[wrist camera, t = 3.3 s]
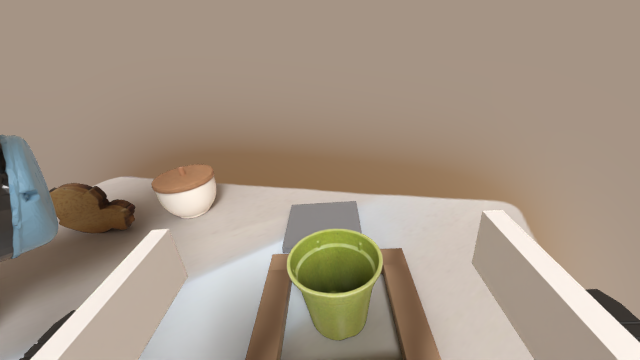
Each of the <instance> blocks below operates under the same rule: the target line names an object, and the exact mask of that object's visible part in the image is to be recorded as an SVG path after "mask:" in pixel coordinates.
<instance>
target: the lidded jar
mask: <svg viewBox="0 0 640 360" xmlns="http://www.w3.org/2000/svg"><path fill="white" fill-rule="evenodd" d="M152 188H153V190H154V191H155V193H156V195H157V197H158V200H159V201H160V203H161V204H162V206H163V207H164V208H165V209H166V210H167V211H168V212H170V213H172V214H174V215H176V216H179V217H180V218H183V219H190V218H195V217H198V216H201V215H203V214H205V213H206V212H207V211H208V210H209V209H210V207H211V205H212V203H213V202H214V200H215V197H216V182H215V178H214V172H213V169H212V167H210V166H208V165H203V164H195V165H187V166H181V167H178V168H175V169H172V170H169V171H167V172H165V173H163V174H161V175H159V176H158V177H156V178H155V179H154V180H153V182H152Z"/></svg>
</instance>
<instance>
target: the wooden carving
mask: <svg viewBox="0 0 640 360" xmlns="http://www.w3.org/2000/svg"><path fill="white" fill-rule="evenodd" d="M49 193H50V196H51V199H52V202H53V205H54V208H55V212H56V216H57V217H58V218H59V220H60V222H59V224H60V225H62V226H64V227H67V228H71V229H74V230H77V231H81V232H87V233H102V232H105V231H108V230H109V229H111V228H115V229H120V230H124V229H128V228H129V226H130V225H131V223H132V222H133V221H135V218H134V215H133V213H134V209H135V206H134V205H133V204H131V203H130V202H128V201H125V200H118V199H117V200H113V201H112V202H109V201H108V199H107V198H106V197H107V195H106V194H105V193H104V192H103V191H102V190H101V189H100V188H99V187H97V186H94V187H91V186H88V185H84V184H77V183H71V184H65V185H62V186H60V187H59V188H53V189H51V190H50V191H49Z"/></svg>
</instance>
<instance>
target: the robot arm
mask: <svg viewBox="0 0 640 360" xmlns="http://www.w3.org/2000/svg"><path fill="white" fill-rule="evenodd" d="M57 231H58V220H57V216H56V212H55V208H54V205H53V202H52V199H51V196H50V193H49V190H48V187H47V185H46V182H45V179H44V177H43V175H42V172H41V170H40V167H39V165H38V163H37V161H36V158H35V156H34V154H33V152H32V150H31V149H30V147H29V145H28V144H27V142H26V141H25V140H24V139H22V138H21V137H18V136H15V135H13V136H5V135H0V262H2V261H5V260H7V259H10V258H11V259H13V258H17V257H18V256H19V255H20V254H22V253H24V252H27V251H29V250H32V249H34V248H37V247H39V246H42V245H44V244H47V243H48V242H50V241H51V240H52V239H53V238H54V237H55V236H56V234H57ZM472 264H473V266H474V267H475V269H476V270H477V272H478V273H479V275H480V276H481V278H482V279H483V281H484V283H485V284H486V286H487V287H488V289H489V290H490V292H491V293H492V295H493V296H494V298H495V300H496V301H497V303H498V304H499V306H500V307H501V309H502V310H503V312H504V313H505V315H506V316H507V318H508V320H509V321H510V323H511V324H512V326H513V327H514V329H515V330H516V332H517V333H518V335H519V336H520V338H521V340H522V341H523V343H524V344H525V346H526V347H527V349H528V350H529V352H530V353H531V355H532V357H533V358H534V360H640V320H639V319H638V318H636V317H635V316H634V315H633V314H632V313H631V312H630V311H629V310H628V309H626V308H625V307H624V306H623V305H622V304H621V303H619V302H617V301H616V300H614V299H613V298H611V297H609V296H608V295H606V294H604V293H603V292H601V291H599V290H598V289H590V290H585V289H584V288H583V287H582V286H580V284H579V283H577V282H576V281H575V280H574V279H573V278H572V277H571V276H570V275H569V274H568V273H567V272H566V271H565V270H564V269H563V268H562V267H561V266H560V265H559V264H558V263H557V262H556V261H555V260H554V259H553V258H552V257H551V256H549V255H548V254H547V253H546V252H545V251H544V250H543V249H542V248H541V247H540V246H539V245H538V244H537V243H536V242H535V241H534V240H533V239H532V238H531V237H530V236H529V235H528V234H527V233H526V232H525V231H524V230H523V229H522V228H520V227H519V226H518V225H517V224H516V223H515V222H514V221H513V220H512V219H511V218H510V217H509V216H508V215H507V214H506V213H505V212H504V211H503V210H492V211H482V216H481V221H480V226H479V231H478V236H477V240H476V245H475V250H474V255H473V260H472ZM187 277H188V275H187V272H186V270H185V267H184V265H183V262H182V260H181V257H180V255H179V252H178V250H177V248H176V245H175V243H174V240H173V238H172V235H171V233H170V230H169V229H159V230H152V231H151V232H150V233H149V234H148V235H147V236H146V237H145V238H144V239H143V240H142V241H141V242H140V243H139V244H138V245H137V246H136V248H135V249H134V250H133V251H132V252H131V253H130V254H129V255H128V256H127V257H126V258H125V259H124V260H123V261H122V262H121V263H120V265H119V266H118V267H117V268H116V269H115V270H114V271H113V272H112V273H111V274H110V275H109V276H108V277H107V278H106V279H105V281H104V282H103V283H102V284H101V285H100V286H99V287H98V288H97V289H96V290H95V291H94V292H93V293H92V294H91V295H90V296H89V298H88V299H87V300H86V301H85V302H84V303H83V304H82V305H81V306H80V307H79V308H78V309H77V310H73V311H71V312H70V313H69V314H67V315H66V316H65V317H63V318H62V319H60V320H59V321H58V322H56V323H55V324H54V325H53V326H52V327H51V328H50V329H49V330H48V331H47V332H46V333H45V334H44V335H43V336H42V337H41V338H40V339H39V340H38V343H37V344H34V345H33V346H32V347H31V348H30V349H29V350H28V351H27V352H26V353H25V354H24V358H21V359H20V360H138V359H139V357H140V355H141V354H142V352H143V350H144V349H145V347H146V345H147V344H148V342H149V340H150V339H151V337H152V335H153V334H154V332H155V330H156V329H157V327H158V325H159V324H160V322H161V320H162V319H163V317H164V315H165V314H166V312H167V310H168V309H169V307H170V305H171V304H172V302H173V300H174V299H175V297H176V295H177V294H178V292H179V290H180V289H181V287H182V285H183V284H184V282H185V280H186V279H187Z"/></svg>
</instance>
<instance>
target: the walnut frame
mask: <svg viewBox="0 0 640 360" xmlns="http://www.w3.org/2000/svg"><path fill="white" fill-rule="evenodd" d="M380 251H381V253H382V258H383V266H382V270H381V273H380V274H383V275H384V279H385V283H386V287H387V291H388V296H389V300H390V304H391V308H392V313H393V317H394V321H395V325H396V329H397V334H398V338H399V342H400V346H401V351H402V355H403V359H404V360H441V358H440V355H439V352H438V349H437V347H436V344H435V341H434V338H433V335H432V333H431V330H430V327H429V324H428V321H427V318H426V316H425V313H424V310H423V307H422V304H421V302H420V299H419V296H418V293H417V290H416V287H415V285H414V282H413V279H412V276H411V273H410V271H409V268H408V265H407V262H406V259H405V256H404V254H403V251H402V248H396V249H380ZM288 256H289V254H274V255H272V259H271V263H270V267H269V271H268V275H267V278H266V282H265V286H264V290H263V294H262V297H261V301H260V305H259V309H258V313H257V317H256V320H255V324H254V328H253V332H252V336H251V339H250V343H249V347H248V351H247V355H246V359H245V360H280V357H281V351H282V344H283V338H284V331H285V324H286V318H287V311H288V305H289V298H290V291H291V285H292V280H291V279H290V277H289V274H288V271H287V259H288Z"/></svg>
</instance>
